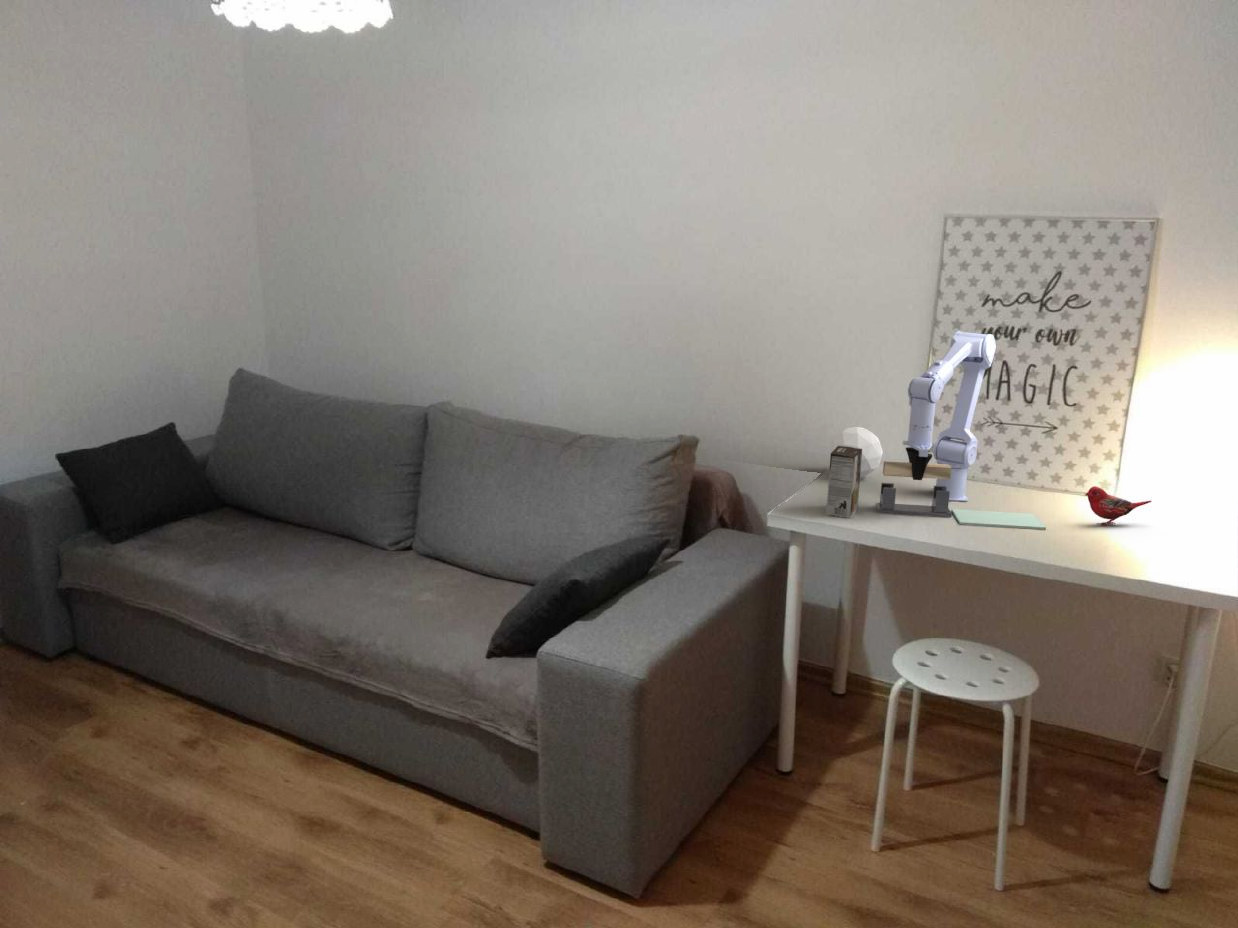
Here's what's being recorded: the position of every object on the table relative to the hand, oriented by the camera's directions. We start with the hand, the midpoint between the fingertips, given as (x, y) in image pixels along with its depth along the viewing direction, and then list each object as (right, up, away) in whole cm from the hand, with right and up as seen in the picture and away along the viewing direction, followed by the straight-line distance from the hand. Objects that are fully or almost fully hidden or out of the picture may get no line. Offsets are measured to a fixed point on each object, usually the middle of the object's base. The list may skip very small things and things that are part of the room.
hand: (916, 477), depth 239 cm
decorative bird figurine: (+47, -12, -6) cm, 49 cm away
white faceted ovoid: (-6, -1, +32) cm, 33 cm away
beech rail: (0, 0, 0) cm, 1 cm away
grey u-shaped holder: (0, -9, +2) cm, 9 cm away
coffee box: (-19, -9, +1) cm, 21 cm away
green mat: (+19, -11, -4) cm, 22 cm away
